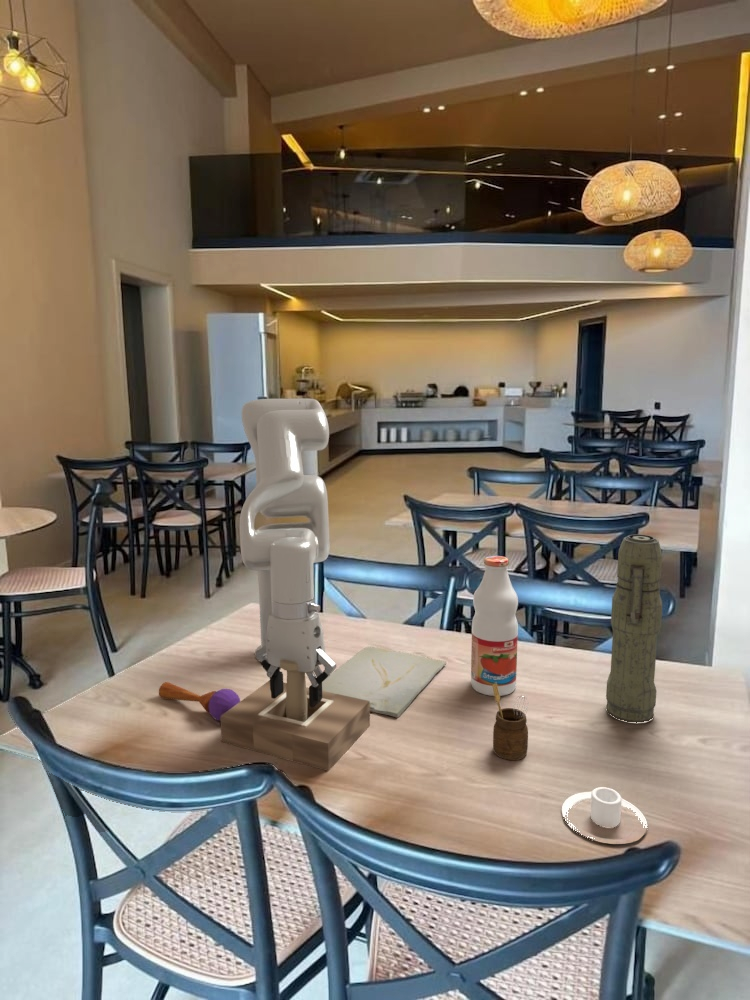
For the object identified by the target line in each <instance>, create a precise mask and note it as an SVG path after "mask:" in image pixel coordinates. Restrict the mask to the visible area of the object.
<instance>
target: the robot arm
mask: <svg viewBox="0 0 750 1000" xmlns="http://www.w3.org/2000/svg"><path fill="white" fill-rule="evenodd" d="M326 415H327V414H326V413H325V410H324V409H323V407H322V405H321V403H320V402H319V401H318V400H317V399H315V398H301V397H299V398H260V399H254V400H250V401H247V402H246V403H244V405H243V406H242V408H241V423H242V427H243V431H244V433H245V437H246V438H247V441H248V443H249V446H250V448H251V450H252V452H253V456H254V462H255V475H256V476H255V478H256V479H255V480H256V486H255V487H254V488H253V489H252V491H251V492H250V493H249V495H248V496H247V498H246V499H245V501H244V503H243V506H242V508H241V511H240V515H239V540H240V542H239V543H240V555H241V561H242V563H243V565H244V566H245V568H247V569H248V570H250V571H255V572H256V571H257V581H258V583H257V584H258V599H259V604H258V605H259V624H260V628H259V629H260V645H259V646H257V647H256V649H255V651H254V658H255V659H256V660H257V661H259V662H260V664H261V665H260V666H262V668H263V669H264V671H265V672H266V676H267V678H269V680H270V690H271V698H274V699H275V698H276V697H278V696H279V695H280V694H282V693H283V691H284V687H283V682H284V673H283V671H281V669H282V668H281V667H280V660H282V661H287V662H292V663H297V664H298V670H297V671H299V672H304V673H305V675H306V676H307V678H308V680H309V683H310V684H311V685H310V686H309V687H308V688H309V706H310V707H315V706H316V705H317V704H318V703H319V702H320V701H321V700H322V682H323V681H324V680H325V679H326V678H327V677H329V676H330V675H331V674H332V673H333V672H334V671H335V670H336V669H337V664H336V662H334V661H333V660H332V658H330V657H329V656H328V655H327V654H326V647H325V637H324V632H323V631H324V630H323V625H322V621H321V617H320V614H319V612H320V611H321V605H320V604H317V603H316V598H315V587H314V586H315V585H314V581H315V580H314V579H315V578H314V576H315V575H314V564H315V563H321V562H324V561H326V560H327V558H328V557H329V554H330V545H331V542H330V540H331V539H330V538H331V537H330V522H329V521H330V519H329V517H330V516H329V502H328V501H329V499H328V498H329V497H328V491H327V487H326V483H325V481H324V480H323V478H322V477H321V476H318V475H314V474H308V475H307V474H304V467H303V466H304V465H303V457H302V452H308V451H309V452H313V451H323V450H324V449H326V448H327V446H328V443H329V440H330V439H329V438H330V429H329V428H330V427H329V423H328V422H329V421H328V417H327V416H326ZM258 513H260V514H261V515H262V516H264V517H266V518H296V517H297V518H298V517H306V518H307V519H308V521H305V522H304V521H303V522H300V521H299V522H282V523H269V524H268V523H267V524H266V525H265V524H264V525H261V526H259V527H258V528H257V529H255V519H256V518H257V517H256V516H257V515H258ZM321 665H322V666H323V667H324V670H323V671H322V669H321V668H320V666H321Z"/></svg>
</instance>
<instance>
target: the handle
mask: <svg viewBox="0 0 750 1000" xmlns="http://www.w3.org/2000/svg"><path fill="white" fill-rule="evenodd" d="M280 667H281V669H282V670H284V671H286V683H287V690H286V716H287V718H289V719H293V720H297V721H301V722H305V721H306V720H307V692H306V687H307V681H306V673H304V672H299V671H297V670H298V664H297V663H292V662H287V661H282V660H280Z"/></svg>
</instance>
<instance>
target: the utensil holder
mask: <svg viewBox="0 0 750 1000" xmlns="http://www.w3.org/2000/svg"><path fill="white" fill-rule="evenodd" d="M493 691H494V696H493V697H494V701H495V703H497V707H498V711H496V715H495V722H494V724H493V732H492V734H493V735H492V747H493V748H492V749H493V751H494V753H495V755H497V756H498V757H500V758H502V759H504V760H506V761H518V760H522V759H524V757H526V756H527V753H528V745H529V728H528V725H527V721H528V720H527V716H526V714H527V712H528V711H527V710H528V709H529V707H526V706H529V703H527V705H526V706H524V705H522V706H521V702H522V701H520V698H521V699H522V698H523V702H522V704H525V701H526V700H525V699H526V696H525V695H519V696H517V698H516V699H515V700H514V705H513V707H505V708H502V707H501V704H500V703H501V702H500V701H501V696H500V695H499V691H498V687H497V683H496V682H495V683H494V685H493ZM519 702H520V703H519ZM517 703H519V705H518V704H517ZM516 704H517V705H516ZM515 706H516V707H518V706H519V707H520V706H521V707H522V708H523V709H526V710H523V711H522V710H521V709H519V708H515ZM523 706H524V707H523ZM525 707H526V708H525Z"/></svg>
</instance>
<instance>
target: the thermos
mask: <svg viewBox="0 0 750 1000" xmlns="http://www.w3.org/2000/svg"><path fill="white" fill-rule="evenodd" d="M617 556H618V559H617V569H616V570H617V571H616V573H617V574H616V575H617V576H616V577H617V582H616V588H615V591H614V593H613V595H612V598H611V599H612V600H611V616H610V617H611V618H610V626H611V628H612V645H611V656H610V657H611V658H610V659H611V660H610V673H609V674H608V677H607V680H606V689H605V690H606V693H605V694H606V695H605V697H606V698H605V699H606V707H605V708H606V709H607V711H608V713H609V714H611V715H612V716H614V717H615V718H617V719H620V720H624V721H627V722H636V723H637V722H644V721H649V720H650V719H652V718H653V716H654V717H655V713H654V712H655V707H656V706H657V705H656V701H657V686H656V684H655V673H656V661H657V647H658V646H657V645H658V635H659V633H660V631H661V629H662V619H663V618H662V616H663V601H662V597H661V594H660V593H661V588H660V587H661V586H660V582H661V580H662V565H663V551H662V547H661V545H660V541H659V539H657V538H655V536H652V535H649V534H648V535H647V534H629V535H627V536H625V537H623V539H622V541H621V544H620V546H619V548H618V555H617ZM606 709H605V710H606ZM607 711H606V712H607ZM608 713H607V714H608ZM609 714H608V715H609ZM617 719H616V720H617ZM653 719H654V718H653Z"/></svg>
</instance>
